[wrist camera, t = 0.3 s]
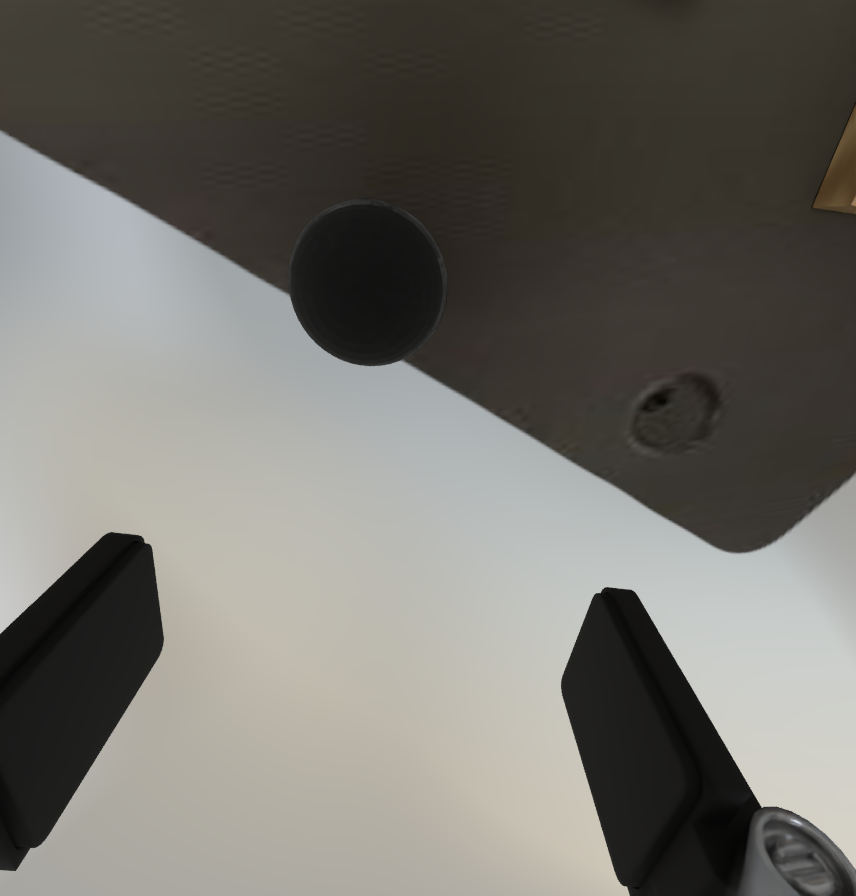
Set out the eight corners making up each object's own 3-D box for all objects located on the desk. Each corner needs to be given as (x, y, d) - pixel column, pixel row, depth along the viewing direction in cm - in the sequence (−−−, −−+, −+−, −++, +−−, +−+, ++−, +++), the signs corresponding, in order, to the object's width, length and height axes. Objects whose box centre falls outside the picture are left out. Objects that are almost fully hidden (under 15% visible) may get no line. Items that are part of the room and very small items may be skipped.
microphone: (448, 228, 34) (476, 227, 16) (423, 319, 37) (423, 406, 19) (357, 199, 33) (278, 165, 15) (338, 295, 36) (254, 362, 18)
